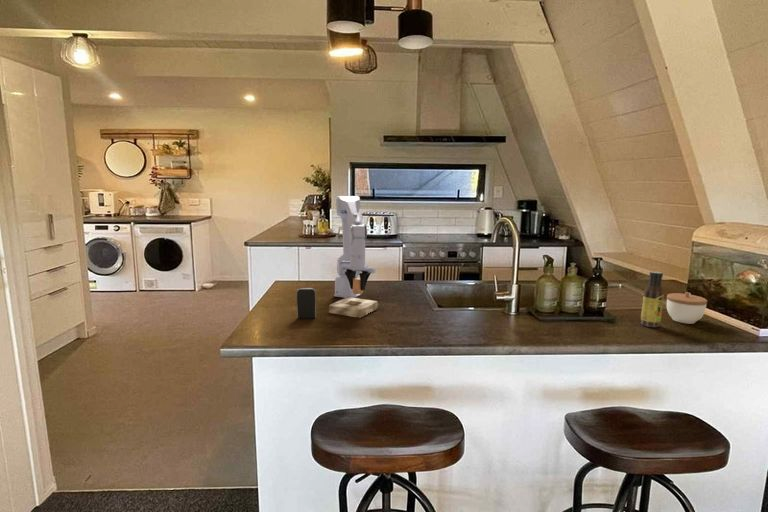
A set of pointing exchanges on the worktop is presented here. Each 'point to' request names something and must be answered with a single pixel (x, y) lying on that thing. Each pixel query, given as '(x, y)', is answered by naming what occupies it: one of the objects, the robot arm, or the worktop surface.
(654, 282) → the sauce bottle
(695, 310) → the lidded bowl
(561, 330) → the worktop surface
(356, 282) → the peg
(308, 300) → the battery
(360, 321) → the worktop surface
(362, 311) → the socket block
